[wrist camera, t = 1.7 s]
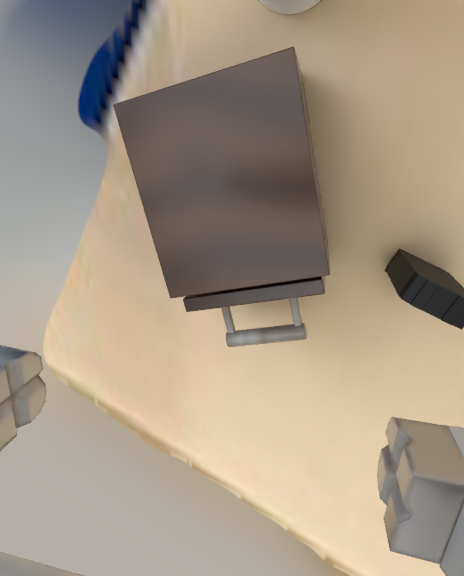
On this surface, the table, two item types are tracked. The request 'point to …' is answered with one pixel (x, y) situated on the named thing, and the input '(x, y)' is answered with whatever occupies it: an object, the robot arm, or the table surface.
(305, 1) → the cylindrical container
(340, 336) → the table surface
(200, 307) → the drawer
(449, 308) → the ink cartridge
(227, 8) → the table surface
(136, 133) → the cabinet
